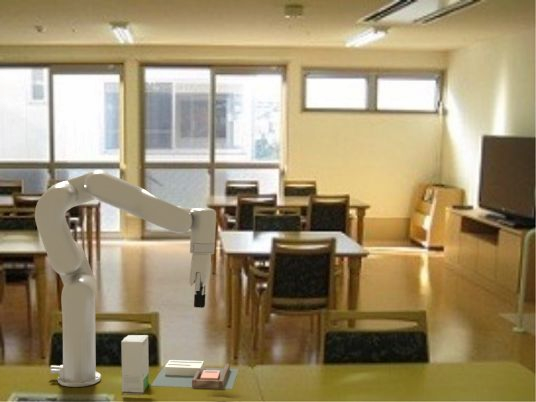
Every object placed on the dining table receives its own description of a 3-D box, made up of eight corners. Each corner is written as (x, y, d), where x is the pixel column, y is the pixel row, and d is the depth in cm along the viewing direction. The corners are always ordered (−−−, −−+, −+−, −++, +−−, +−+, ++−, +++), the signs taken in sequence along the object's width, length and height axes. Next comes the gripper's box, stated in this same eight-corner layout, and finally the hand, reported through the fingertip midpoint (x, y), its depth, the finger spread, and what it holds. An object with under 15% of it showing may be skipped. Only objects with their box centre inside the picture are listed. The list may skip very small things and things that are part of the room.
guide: (192, 386, 204) (192, 380, 203) (201, 368, 220) (201, 362, 220) (222, 387, 203) (222, 381, 203) (229, 369, 219) (229, 363, 219)
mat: (150, 389, 204) (150, 385, 204) (163, 369, 222) (163, 366, 222) (232, 392, 202) (232, 388, 202) (238, 372, 220) (238, 368, 220)
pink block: (200, 385, 204) (200, 377, 204) (203, 377, 211) (203, 369, 211) (217, 386, 204) (217, 377, 204) (220, 378, 211) (220, 370, 211)
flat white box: (164, 374, 214) (164, 366, 214) (169, 367, 221) (169, 359, 221) (200, 376, 213) (200, 367, 213) (203, 368, 220) (203, 360, 220)
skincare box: (142, 396, 198) (142, 342, 197) (120, 395, 199) (119, 341, 198) (149, 385, 207) (149, 334, 206) (127, 385, 207) (127, 333, 206)
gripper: (194, 244, 222) (191, 301, 223) (185, 250, 207) (182, 311, 209) (217, 245, 222) (215, 302, 223) (210, 252, 207) (207, 313, 208)
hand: (199, 306), depth 216 cm, fingers closed
